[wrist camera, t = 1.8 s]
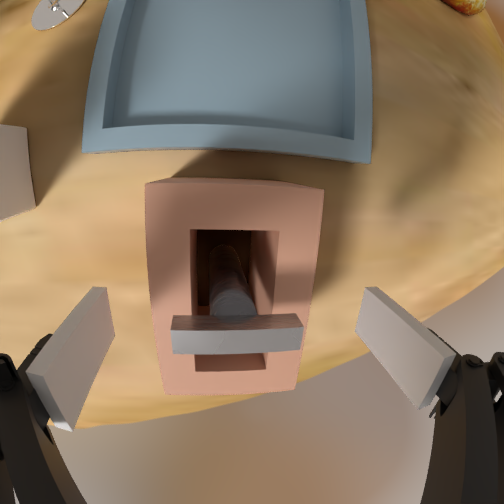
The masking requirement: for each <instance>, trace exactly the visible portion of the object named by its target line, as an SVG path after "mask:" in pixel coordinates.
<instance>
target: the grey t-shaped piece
mask: <svg viewBox="0 0 504 504" xmlns="http://www.w3.org/2000/svg"><path fill="white" fill-rule="evenodd" d="M209 296H210V315H173V319H172V324H171V329H170V332H171V342H172V350H173V354H247V353H267V352H281V351H293V350H300V348H301V342H302V337H303V331H304V326H303V324H302V323H301V321H300V319H299V317H298V316H297V314H296V313H289V314H265V315H258V314H257V311H256V308H255V305H254V303H253V300H252V297H251V294H250V291H249V288H248V285H247V282H246V279H245V276H244V273H243V270H242V267H241V264H240V261H239V258H238V255H237V252H236V251H235V249H234V248H232V247H231V246H229V245H219V246H216V247H215V248H214V249H213V250H212V251H211V253H210V255H209Z"/></svg>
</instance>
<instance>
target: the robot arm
mask: <svg viewBox="0 0 504 504" xmlns="http://www.w3.org/2000/svg"><path fill="white" fill-rule="evenodd" d="M355 332H356V333H357V335H358V336H359V337H360V338H361V339H362V341H363V342H364V343H365V344H366V346H367V347H368V348H369V349H370V350H371V352H372V353H373V354H374V355H375V357H376V358H377V359H378V360H379V362H380V363H381V364H382V365H383V367H384V368H385V369H386V370H387V371H388V373H389V374H390V375H391V377H392V378H393V379H394V381H395V382H396V383H397V384H398V386H399V387H400V388H401V389H402V391H403V392H404V393H405V395H406V396H407V397H408V398H409V400H410V401H411V402H412V404H413V405H414V406H415V407H416V409H417V410H418V409H421V408H423V407H426V406H428V405H430V403H431V402H432V400H433V398H434V397H435V395H437V396H438V397H439V398H440V399H439V400H438V402H437V404H436V405H435V407H434V409H433V410H432V412H431V413H430V415H429V417H430V418H431V417H432V415H433V414H434V413H435V412H436V415H435V417H434V418H435V428H434V436H433V444H432V451H431V457H430V463H429V469H428V474H427V479H426V483H425V488H424V492H423V496H422V500H421V503H420V504H504V352H496V353H495V354H494V355H493V357H492V359H491V361H490V362H485V363H484V362H483V361H482V360H481V359H480V358H478V357H477V356H474V355H470V354H466V355H463V356H461V355H460V354H459V353H458V352H456V351H455V350H454V349H453V348H452V347H451V346H450V345H448V344H447V343H446V342H444V340H443V339H442V338H440V337H438V335H437V334H436V333H435V332H433V331H432V330H430V329H428V328H426V327H425V326H424V325H423V324H422V323H420V322H419V321H418V320H417V319H416V318H414V317H413V316H412V315H411V314H410V313H408V312H407V311H406V310H405V309H404V308H402V307H401V306H400V305H399V304H397V303H396V302H395V301H394V300H393V299H391V298H390V297H389V296H388V295H386V294H385V293H384V292H383V291H381V290H380V289H379V288H378V287H365V290H364V295H363V299H362V304H361V308H360V312H359V316H358V320H357V324H356V328H355ZM114 337H115V332H114V327H113V322H112V317H111V311H110V306H109V300H108V294H107V287H92V288H91V290H90V291H89V292H88V293H87V294H86V295H85V296H84V298H83V299H82V300H81V301H80V302H79V303H78V305H77V306H76V307H75V308H74V309H73V310H72V312H71V313H70V314H69V315H68V316H67V318H66V319H65V320H64V321H63V323H62V324H61V325H60V326H59V328H58V329H57V330H56V331H55V333H54V334H48V335H46V336H45V337H43V338H42V339H40V341H39V342H38V343H37V344H36V346H35V348H33V349H32V351H31V352H30V354H29V355H28V356H27V357H26V359H25V360H24V361H23V363H22V364H21V365H20V367H19V368H18V369H17V370H16V368H15V366H14V364H13V361H12V359H11V357H10V356H9V355H7V354H3V353H0V504H15V497H14V491H13V488H14V490H15V493H16V496H17V498H18V501H19V503H20V504H87V503H86V501H85V499H84V498H83V496H82V495H81V493H80V491H79V489H78V488H77V486H76V484H75V482H74V480H73V479H72V477H71V475H70V473H69V471H68V469H67V467H66V465H65V463H64V461H63V459H62V456H61V455H60V452H59V450H58V448H57V445H56V443H55V441H54V438H53V436H52V433H51V431H50V429H49V427H48V426H47V422H48V420H49V418H51V420H52V421H53V423H54V425H55V426H56V427H57V428H61V429H64V430H68V431H72V432H73V430H74V427H75V425H76V422H77V420H78V417H79V415H80V412H81V410H82V407H83V405H84V402H85V400H86V398H87V395H88V393H89V390H90V388H91V386H92V384H93V381H94V379H95V377H96V375H97V372H98V370H99V368H100V366H101V364H102V362H103V359H104V357H105V355H106V353H107V351H108V349H109V347H110V345H111V343H112V341H113V339H114ZM499 390H501V392H502V395H501V397H500V398H499V400H498V401H497V402H495V400H494V398H495V397H496V395H497V394H498V392H499Z"/></svg>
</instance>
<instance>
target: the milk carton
mask: <svg viewBox="0 0 504 504" xmlns="http://www.w3.org/2000/svg"><path fill="white" fill-rule="evenodd" d="M35 208H36V204H35V198H34V192H33V186H32V179H31V171H30V163H29V153H28V139H27V129H26V128H25V127H19V126H11V125H2V124H0V222H1V221H4V220H6V219H9V218H11V217H14V216H17V215H19V214H22V213H24V212H27V211H30V210H33V209H35Z"/></svg>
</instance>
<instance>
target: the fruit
mask: <svg viewBox="0 0 504 504" xmlns="http://www.w3.org/2000/svg"><path fill="white" fill-rule="evenodd" d="M441 1H444V2H445V3H447V4H449V5H450V6H451V7H452V8H454V9H455V10H457V11H460V12H462V13H465V14H467V15H468V14H478V13H480V12H481V11H482V10H483V9H484V8H485V5H486V1H487V0H441ZM468 16H469V15H468Z"/></svg>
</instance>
